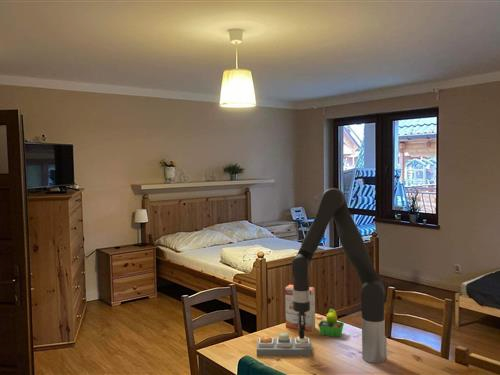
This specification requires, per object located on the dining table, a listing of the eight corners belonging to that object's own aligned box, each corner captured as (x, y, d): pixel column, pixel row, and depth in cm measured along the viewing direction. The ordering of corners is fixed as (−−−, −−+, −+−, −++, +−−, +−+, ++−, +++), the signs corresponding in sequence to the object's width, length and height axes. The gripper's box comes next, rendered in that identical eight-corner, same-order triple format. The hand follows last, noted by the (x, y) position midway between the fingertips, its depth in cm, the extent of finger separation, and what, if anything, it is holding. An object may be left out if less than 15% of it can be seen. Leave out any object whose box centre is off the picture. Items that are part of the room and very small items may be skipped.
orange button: (271, 340, 199) (271, 336, 199) (271, 344, 195) (270, 339, 195) (261, 340, 200) (261, 336, 199) (261, 344, 195) (260, 339, 195)
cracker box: (285, 327, 225) (284, 287, 224) (289, 323, 230) (289, 284, 229) (311, 331, 218) (310, 290, 217) (315, 327, 223) (315, 287, 222)
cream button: (306, 340, 198) (306, 335, 198) (307, 344, 194) (307, 339, 194) (297, 340, 199) (296, 335, 198) (297, 344, 194) (297, 339, 194)
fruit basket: (317, 335, 213) (317, 312, 213) (322, 329, 222) (321, 306, 221) (341, 338, 209) (341, 315, 208) (345, 332, 217) (344, 309, 217)
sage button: (288, 337, 199) (288, 332, 199) (289, 340, 194) (289, 336, 194) (279, 337, 199) (279, 332, 199) (279, 340, 195) (279, 336, 195)
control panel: (310, 345, 202) (310, 335, 202) (312, 356, 190) (312, 346, 190) (257, 344, 204) (257, 335, 203) (256, 356, 192) (256, 345, 191)
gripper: (311, 304, 189) (311, 343, 189) (308, 295, 202) (309, 332, 203) (293, 304, 189) (293, 343, 190) (292, 295, 202) (292, 332, 203)
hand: (301, 337), depth 196 cm, fingers closed
